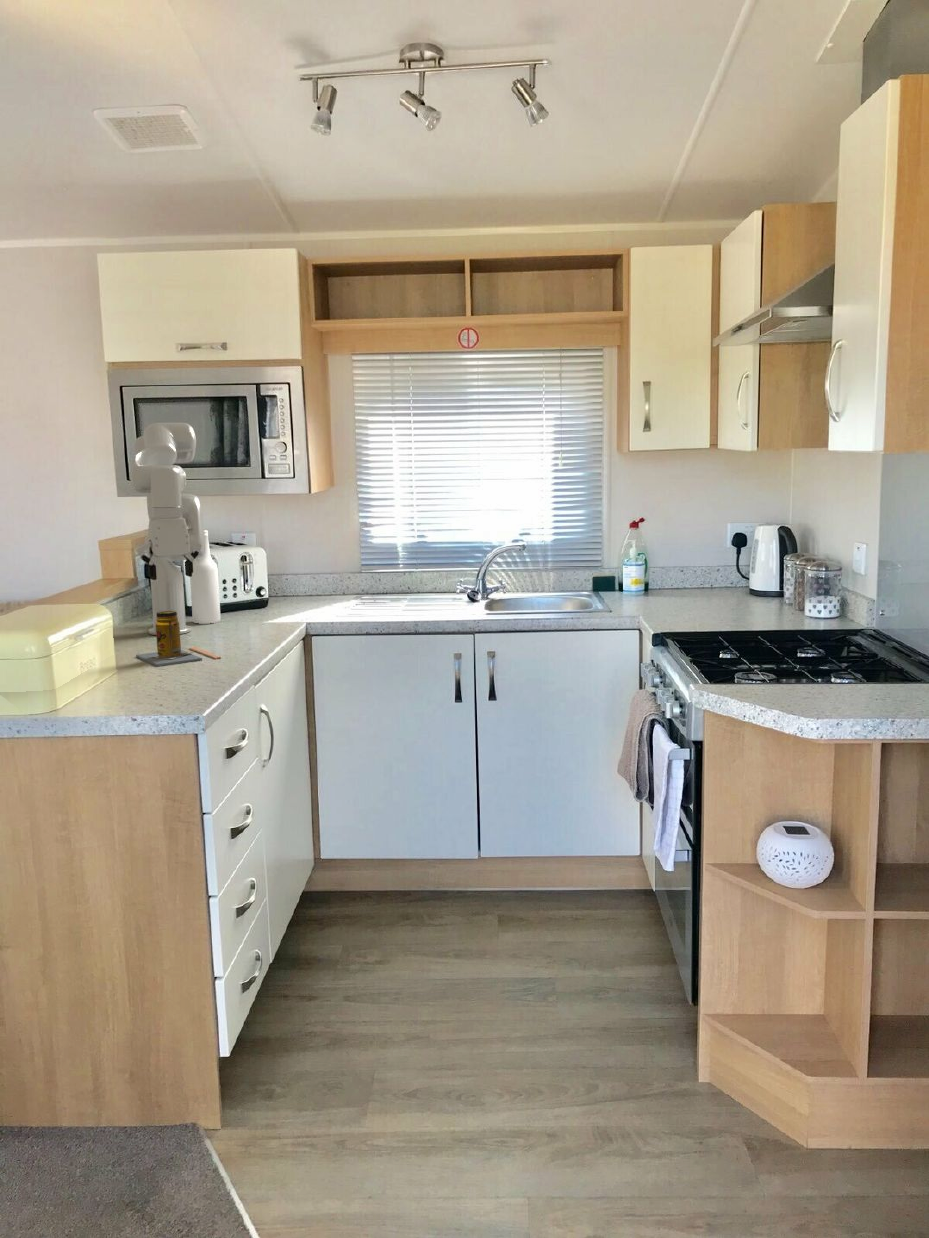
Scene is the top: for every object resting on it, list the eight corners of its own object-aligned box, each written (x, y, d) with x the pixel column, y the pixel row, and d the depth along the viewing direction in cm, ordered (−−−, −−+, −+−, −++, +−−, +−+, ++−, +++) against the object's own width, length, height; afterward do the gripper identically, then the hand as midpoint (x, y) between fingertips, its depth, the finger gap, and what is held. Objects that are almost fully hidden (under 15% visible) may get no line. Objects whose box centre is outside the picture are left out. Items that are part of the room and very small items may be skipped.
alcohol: (210, 625, 307) (205, 531, 302) (187, 623, 310) (181, 531, 305) (226, 620, 315) (221, 529, 310) (203, 619, 318) (197, 529, 313)
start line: (189, 649, 268) (189, 647, 268) (194, 648, 269) (194, 647, 269) (215, 659, 254) (215, 657, 254) (220, 658, 255) (220, 656, 255)
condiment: (150, 657, 254) (147, 613, 252) (173, 651, 261) (170, 608, 259) (171, 659, 251) (168, 614, 249) (193, 653, 258) (191, 610, 256)
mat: (136, 656, 258) (136, 654, 258) (179, 651, 265) (179, 649, 265) (157, 666, 246) (157, 664, 245) (202, 660, 253) (201, 658, 253)
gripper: (193, 511, 261) (197, 573, 264) (129, 514, 251) (134, 579, 254) (204, 513, 255) (207, 576, 258) (139, 516, 245) (143, 582, 248)
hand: (171, 577), depth 256 cm, fingers open, 9 cm apart
